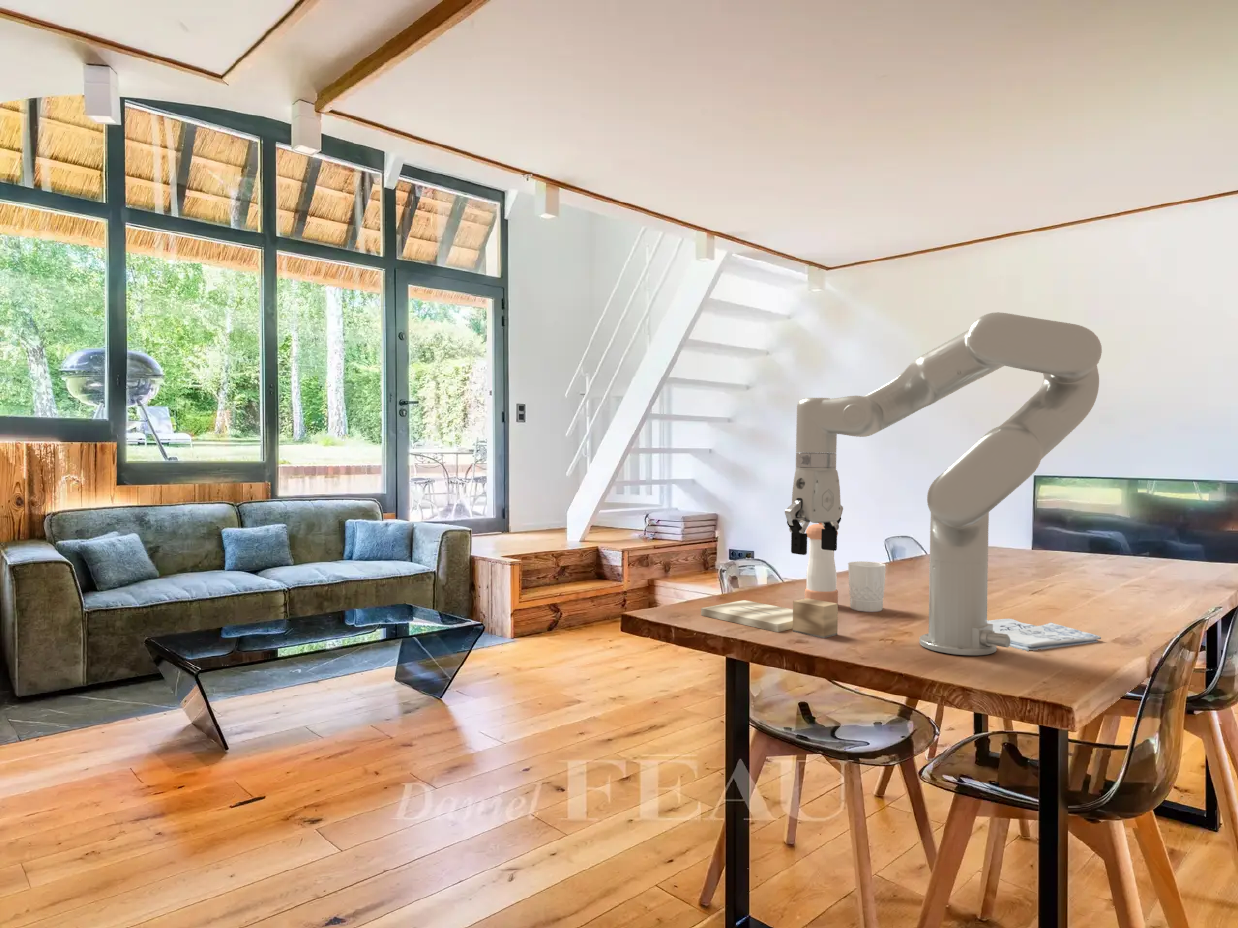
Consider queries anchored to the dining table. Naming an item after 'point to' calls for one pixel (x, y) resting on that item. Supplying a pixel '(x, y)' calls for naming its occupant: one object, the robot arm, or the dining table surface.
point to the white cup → (866, 585)
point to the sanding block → (815, 617)
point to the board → (752, 615)
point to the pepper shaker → (820, 568)
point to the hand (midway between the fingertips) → (814, 551)
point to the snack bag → (1040, 635)
